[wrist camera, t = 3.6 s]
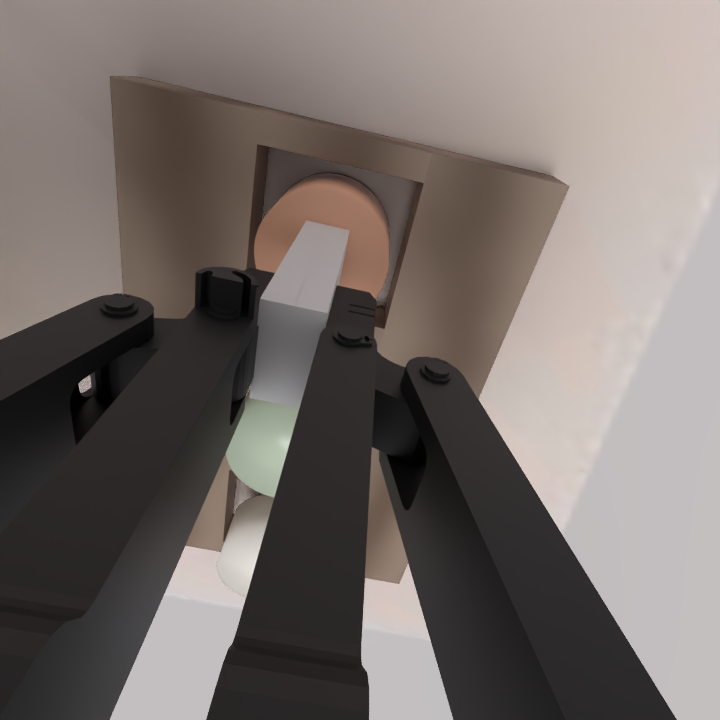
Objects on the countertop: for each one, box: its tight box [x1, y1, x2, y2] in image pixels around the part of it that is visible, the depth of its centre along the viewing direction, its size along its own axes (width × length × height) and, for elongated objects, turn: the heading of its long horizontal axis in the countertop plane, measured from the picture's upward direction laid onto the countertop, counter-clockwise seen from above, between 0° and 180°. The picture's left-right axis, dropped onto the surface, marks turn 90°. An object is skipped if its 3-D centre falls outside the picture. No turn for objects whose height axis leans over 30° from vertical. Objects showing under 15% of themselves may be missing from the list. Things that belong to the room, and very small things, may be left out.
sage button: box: [226, 391, 299, 497], centre depth 20 cm, size 5×5×3 cm
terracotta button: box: [254, 173, 389, 299], centre depth 18 cm, size 5×5×3 cm
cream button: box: [217, 495, 274, 597], centre depth 24 cm, size 5×5×3 cm
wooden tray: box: [110, 76, 569, 584], centre depth 23 cm, size 16×24×2 cm, turn 168°
